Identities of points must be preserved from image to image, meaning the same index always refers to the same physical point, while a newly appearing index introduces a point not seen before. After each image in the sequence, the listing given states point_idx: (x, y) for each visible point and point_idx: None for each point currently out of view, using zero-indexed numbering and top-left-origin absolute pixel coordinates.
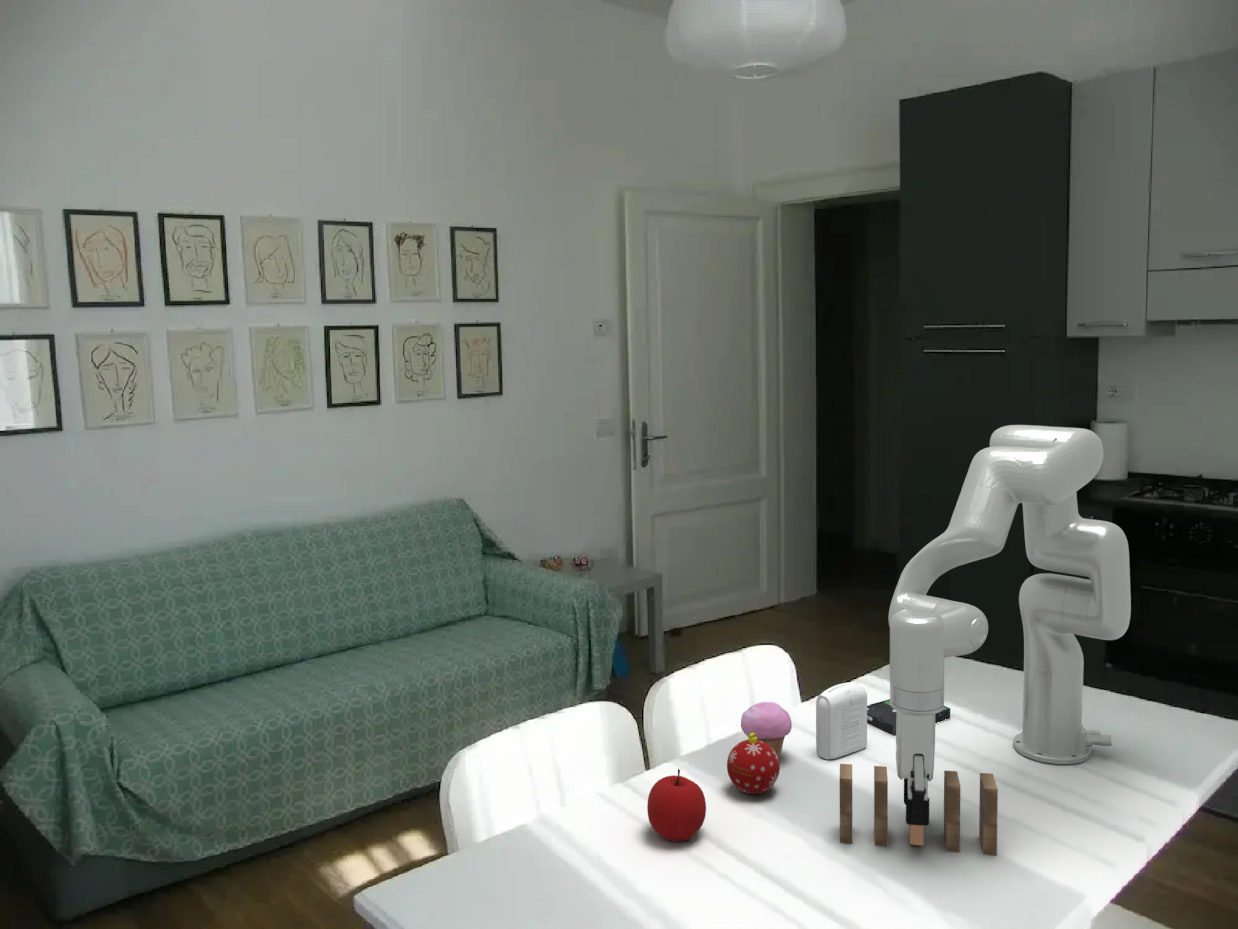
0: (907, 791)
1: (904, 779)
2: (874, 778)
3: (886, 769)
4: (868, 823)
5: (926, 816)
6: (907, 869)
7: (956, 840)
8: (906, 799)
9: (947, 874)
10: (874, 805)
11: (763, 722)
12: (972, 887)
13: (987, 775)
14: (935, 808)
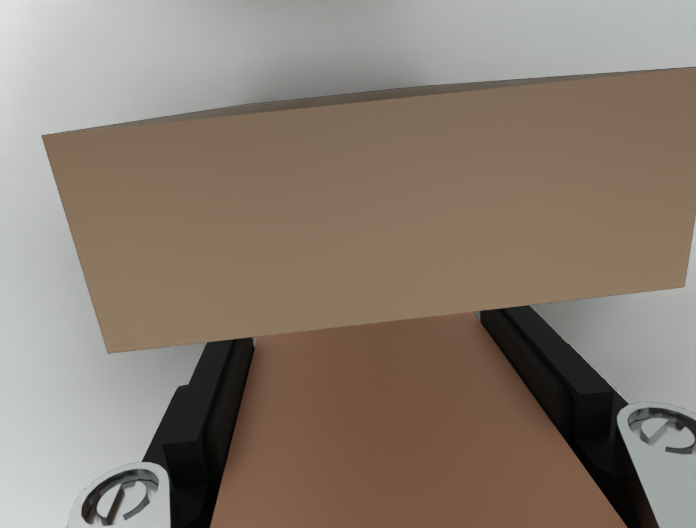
0: (519, 362)
1: (584, 398)
2: (410, 94)
3: (577, 295)
4: (486, 46)
5: None
6: (72, 277)
7: None
8: (167, 438)
9: (107, 425)
10: (369, 93)
11: None
12: (50, 504)
13: None
14: (676, 355)
